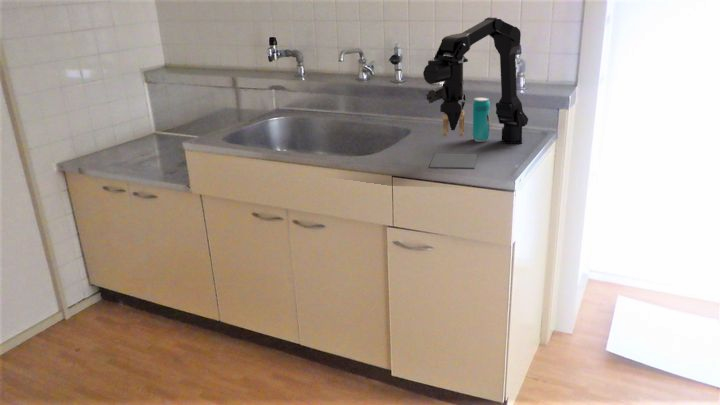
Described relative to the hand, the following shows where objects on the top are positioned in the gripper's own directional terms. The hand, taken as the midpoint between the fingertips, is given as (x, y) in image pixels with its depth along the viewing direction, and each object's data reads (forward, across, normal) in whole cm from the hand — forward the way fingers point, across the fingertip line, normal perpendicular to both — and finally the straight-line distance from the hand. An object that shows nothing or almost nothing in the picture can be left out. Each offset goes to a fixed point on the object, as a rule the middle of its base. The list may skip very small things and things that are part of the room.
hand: (453, 127), depth 190 cm
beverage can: (+12, -25, +7) cm, 28 cm away
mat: (+11, 0, 0) cm, 11 cm away
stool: (+2, 0, 0) cm, 2 cm away
